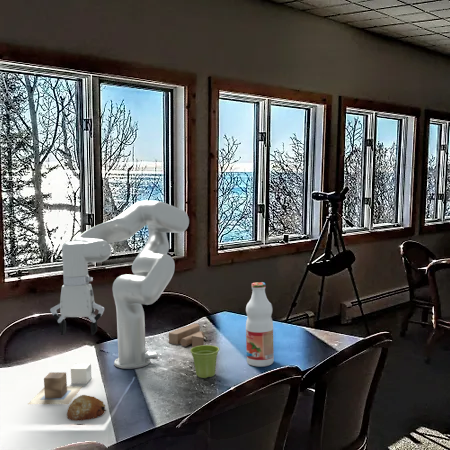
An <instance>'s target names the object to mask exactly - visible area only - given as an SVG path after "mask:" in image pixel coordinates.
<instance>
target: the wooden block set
mask: <svg viewBox="0 0 450 450" xmlns="http://www.w3.org/2000/svg"><path fill="white" fill-rule="evenodd" d="M205 338H206V334H205V333H204V331H202V330H201V326H200V325H199V323H192V324H190V325H187V326H184V327H180V328H177V329H175V330H173V331H170V332H168V343H169V344H172V345H177V346H178V345H181V346H182V347H184V348H185V347H188V346H190V345H191V346H192V347H191V348H193V347H196V346H201V345H205V343H204V342H205V341H204V340H205Z"/></svg>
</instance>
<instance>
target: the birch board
mask: <svg viewBox="0 0 450 450" xmlns="http://www.w3.org/2000/svg"><path fill="white" fill-rule="evenodd" d="M81 389H83V386H82V385H81V386H80V385H78V386H75V385H73V386H72V385H71V386H70V385H67V392H66V394H65V395H64V396H63V397H62V398H45V390H44V387H43V388H42V389H41V390H40V391H39V392H38V393H37V394H36V395H35V396H34V397H33V398H32V399H31V400H30V401H29V402H28V403H27V405H70V404H71V403H72V402H71V401H73V400H74V399H75V397H76V396H77V394H78V393H79V392H80V391H81Z"/></svg>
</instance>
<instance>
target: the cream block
mask: <svg viewBox="0 0 450 450" xmlns="http://www.w3.org/2000/svg"><path fill="white" fill-rule="evenodd" d="M91 379H92V364H91V363H75V364H74V365H73V366H72V367H71V368H70V380H71V381H70V382H71V384H88V382H89V381H91Z"/></svg>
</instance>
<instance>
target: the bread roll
mask: <svg viewBox="0 0 450 450" xmlns="http://www.w3.org/2000/svg"><path fill="white" fill-rule="evenodd" d="M68 405H69V406H68V409H67V412H66V417H67V419H68V420H70V421H76V422H77V421H79V422H80V421H86V420H88V421H89V420H92V419H97V418H99V417H102V416H103V415H104V414H105V412H106V411H107V409H106V405H105V404H104V401H103V400H101V399H100V398H97V397H95V396H91V395H86V394H80V396H77V397H76V398H73V399H72V402H70V403H69V404H68ZM75 425H76V426H77V425H78V426H83V425H84V423H75Z"/></svg>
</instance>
